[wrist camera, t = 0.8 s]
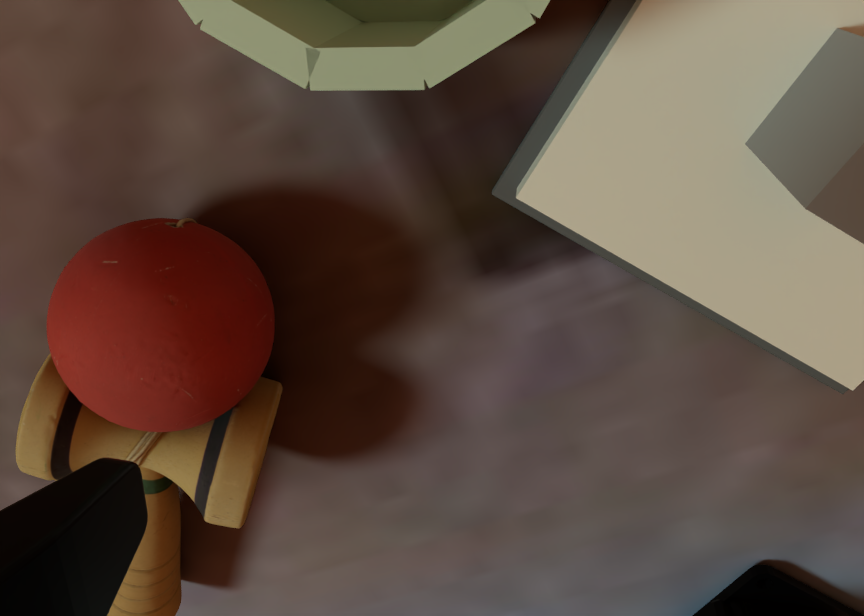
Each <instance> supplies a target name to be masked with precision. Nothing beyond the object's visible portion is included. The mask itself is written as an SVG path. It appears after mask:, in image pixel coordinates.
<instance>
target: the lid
mask: <svg viewBox="0 0 864 616" xmlns="http://www.w3.org/2000/svg"><path fill="white" fill-rule="evenodd" d="M516 198H517V199H518V200H520V201H522V202H524V203H525V204H527V205H529V206H531V207H532V208H534V209H536V210H538V211H539V212H541V213H543V214H545V215H546V216H548V217H550V218H552V219H553V220H555V221H557V222H559V223H560V224H562V225H564V226H566V227H567V228H569V229H571V230H573V231H574V232H576V233H578V234H580V235H581V236H583V237H585V238H587V239H588V240H590V241H592V242H594V243H595V244H597V245H599V246H601V247H602V248H604V249H606V250H608V251H609V252H611V253H613V254H615V255H616V256H618V257H620V258H622V259H623V260H625V261H627V262H629V263H630V264H632V265H634V266H636V267H637V268H639V269H641V270H643V271H644V272H646V273H648V274H650V275H651V276H653V277H655V278H657V279H658V280H660V281H662V282H664V283H665V284H667V285H669V286H671V287H672V288H674V289H676V290H678V291H679V292H681V293H683V294H685V295H686V296H688V297H690V298H692V299H693V300H695V301H697V302H699V303H700V304H702V305H704V306H706V307H707V308H709V309H711V310H712V311H714V312H716V313H718V314H719V315H721V316H723V317H725V318H726V319H728V320H730V321H732V322H733V323H735V324H737V325H739V326H740V327H742V328H744V329H746V330H747V331H749V332H751V333H753V334H754V335H756V336H758V337H760V338H761V339H763V340H765V341H767V342H768V343H770V344H772V345H774V346H775V347H777V348H779V349H781V350H782V351H784V352H786V353H788V354H789V355H791V356H793V357H795V358H796V359H798V360H800V361H802V362H803V363H805V364H807V365H809V366H810V367H812V368H814V369H816V370H817V371H819V372H821V373H823V374H824V375H826V376H828V377H830V378H831V379H833V380H835V381H837V382H838V383H840V384H842V385H844V386H845V387H847V388H849V389H851V390H852V391H853V390H854V389H855V388H856V387H857V386H858V385H859V384H860V383H861V382H863V381H864V0H636V2H635V3H634V5H633V6H632V8H631V10H630V11H629V13H628V14H627V16H626V17H625V19H624V21H623V22H622V24H621V25H620V27H619V28H618V30H617V32H616V33H615V35H614V36H613V38H612V39H611V41H610V43H609V44H608V46H607V47H606V49H605V50H604V52H603V54H602V55H601V57H600V58H599V60H598V61H597V63H596V65H595V66H594V68H593V69H592V71H591V72H590V74H589V76H588V77H587V79H586V80H585V82H584V84H583V85H582V87H581V88H580V90H579V91H578V93H577V95H576V96H575V98H574V99H573V101H572V102H571V104H570V106H569V107H568V109H567V110H566V112H565V113H564V115H563V117H562V118H561V120H560V121H559V123H558V124H557V126H556V128H555V129H554V131H553V132H552V134H551V135H550V137H549V139H548V140H547V142H546V143H545V145H544V146H543V148H542V150H541V151H540V153H539V154H538V156H537V157H536V159H535V161H534V162H533V164H532V165H531V167H530V168H529V170H528V172H527V173H526V175H525V176H524V178H523V179H522V181H521V183H520V184H519V186H518V187H517V192H516Z"/></svg>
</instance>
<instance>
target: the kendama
mask: <svg viewBox="0 0 864 616" xmlns="http://www.w3.org/2000/svg"><path fill="white" fill-rule="evenodd" d="M274 333H275V314H274V306H273V302H272V297H271V294H270V291H269V288H268V285H267V283H266V280H265V278H264V276H263V274H262V273H261V271H260V269H259V268H258V266H257V265H256V263H255V262H254V261H253V259H252V258H251V257H250V256H249V255H248V254H247V253H246V252H245V251H244V250H243V249H242V248H241V247H240V246H239V245H237V244H236V243H235V242H234V241H232V240H231V239H229V238H228V237H226V236H224V235H223V234H221V233H219V232H217V231H215V230H213V229H211V228H209V227H206V226H203V225H200V224H197V222H196V221H195V220H194V219H191V218H185V219H182V220H178V219H166V218H156V219H146V220H140V221H134V222H130V223H127V224H124V225H121V226H118V227H115V228H113V229H110V230H108V231H106V232H104V233H102V234H100V235H99V236H97V237H95V238H94V239H92V240H91V241H90V242H88V243H87V244H86V245H85V246H84V247H83V248H82V249H80V250H79V251H78V252H77V253H76V255H75V256H74V257H73V258H72V259H71V260H70V261H69V263H68V264H67V266H65V267H64V270H63V271H62V273H61V275H60V277H59V279H58V281H57V283H56V285H55V288H54V290H53V293H52V296H51V300H50V303H49V308H48V315H47V338H48V344H49V349H50V352H51V353H50V355H49V356H48V357H47V359H46V360H45V362H44V364H43V365H42V367H41V369H40V370H39V372H38V374H37V376H36V378H35V380H34V383H33V384H32V386H31V390H30V392H29V395H28V397H27V400H26V402H25V405H24V407H23V410H22V414H21V419H20V423H19V428H18V433H17V443H16V461H17V464H18V467H19V469H20V470H21V471H23V472H25V473H27V474H30V475H33V476H36V477H39V478H42V479H46V480H56V481H57V480H59V479H61V478H63V477H64V476H66V475H68V474H70V473H72V472H74V471H76V470H78V469H80V468H81V467H83V466H85V465H87V464H89V463H91V462H93V461H95V460H97V459H99V458H105V457H109V458H115V459H121V460H127V461H133V462H134V463H136V464H137V465H138V466H139V467H140V470H141V473H142V480H143V486H144V492H145V498H146V505H147V511H148V522H147V527H146V530H145V533H144V536H143V538H142V540H141V543H140V545H139V547H138V549H137V551H136V554H135V556H134V558H133V560H132V562H131V565H130V567H129V569H128V571H127V573H126V576H125V578H124V580H123V582H122V584H121V586H120V589H119V591H118V593H117V595H116V597H115V600H114V602H113V604H112V606H111V608H110V611H109V613H108V615H107V616H175V615H176V613H177V611H178V609H179V606H180V603H181V578H180V546H181V545H180V536H181V511H180V499H179V491H178V486H179V487H181V488H182V489H183V490H184V491H185V492H186V493H187V494H188V495H189V496H190V498H191V499H192V500H193V501H194V503H195V504H196V505H197V508H198V510H199V511H200V512H201V514H202V516H203V518H204V520H205V521H206V522H208V523H211V524H215V525H221V526H226V527H231V528H241V527H242V526H243V525H244V524H245V521H246V518H247V515H248V512H249V508H250V505H251V502H252V498H253V495H254V492H255V488H256V484H257V481H258V477H259V474H260V470H261V467H262V463H263V459H264V455H265V453H266V448H267V444H268V440H269V436H270V433H271V429H272V425H273V422H274V419H275V416H276V412H277V409H278V405H279V401H280V398H281V394H282V389H283V388H282V385H281V383H280V382H277V381H274V380H271V379H267V378H264V377H261V375H262V373H263V371H264V369H265V367H266V365H267V362H268V360H269V357H270V355H271V351H272V346H273V342H274Z"/></svg>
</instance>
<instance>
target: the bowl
mask: <svg viewBox="0 0 864 616" xmlns="http://www.w3.org/2000/svg"><path fill="white" fill-rule="evenodd" d="M178 1H179V2H180V3H181V5H182V6H183V8H184V9H185V11H186V12H187V13H188V15H189V16H190V18H191V19H192V21H193V22H194V24H195V25H197V24H201V23H202V24H201V27H200V29H201V30H202V31H204V32H206V33H208V34H209V35H211V36H213V37H215V38H216V39H218V40H220V41H222V42H223V43H225V44H227V45H229V46H230V47H232V48H234V49H236V50H237V51H239V52H241V53H243V54H245V55H246V56H248V57H250V58H252V59H253V60H255V61H257V62H259V63H260V64H262V65H264V66H266V67H267V68H269V69H271V70H273V71H274V72H276V73H278V74H280V75H281V76H283V77H285V78H287V79H288V80H290V81H292V82H294V83H295V84H297V85H299V86H301V87H302V88H304V89H306V88H307V87H309V86H310V90H425V88H426V87H427V86H429V88H431V87H433V86H434V85H436V84H438V83H439V82H441V81H442V80H444V79H446V78H447V77H449V76H451V75H452V74H454V73H455V72H457V71H459V70H460V69H462V68H463V67H465V66H467V65H468V64H470V63H472V62H473V61H475V60H476V59H478V58H480V57H481V56H483V55H485V54H486V53H488V52H489V51H491V50H493V49H494V48H496V47H497V46H499V45H501V44H502V43H504V42H506V41H507V40H509V39H510V38H512V37H514V36H515V35H517V34H519V33H520V32H522V31H523V30H525V29H527V28H528V27H530V26H532V25H533V24H535V21H536V17H538V18H540V17H541V15H542V14H543V12H544V10H545V8H546V7H547V5H548V3H549V2H550V0H178Z"/></svg>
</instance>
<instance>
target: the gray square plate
mask: <svg viewBox="0 0 864 616" xmlns="http://www.w3.org/2000/svg"><path fill="white" fill-rule="evenodd" d="M635 2H636V0H609V2H608V3H607V5H606V7H605V8H604V10H603V11H602V13H601V15H600V16H599V18H598V19H597V21H596V23H595V24H594V26H593V28H592V29H591V31H590V32H589V34H588V36H587V37H586V39H585V41H584V42H583V44H582V45H581V47H580V49H579V50H578V52H577V54H576V55H575V57H574V58H573V60H572V62H571V63H570V65H569V67H568V68H567V70H566V71H565V73H564V75H563V76H562V78H561V79H560V81H559V83H558V84H557V86H556V88H555V89H554V91H553V92H552V94H551V96H550V97H549V99H548V101H547V102H546V104H545V105H544V107H543V109H542V110H541V112H540V114H539V115H538V117H537V118H536V120H535V122H534V123H533V125H532V126H531V128H530V130H529V131H528V133H527V135H526V136H525V138H524V139H523V141H522V143H521V144H520V146H519V148H518V149H517V151H516V152H515V154H514V156H513V157H512V159H511V161H510V162H509V164H508V165H507V167H506V169H505V170H504V172H503V174H502V175H501V177H500V178H499V180H498V182H497V183H496V185H495V186H494V188H493V190H492V195H494V196H496V197H497V198H499V199H501V200H503V201H504V202H506V203H508V204H510V205H511V206H513V207H515V208H517V209H518V210H520V211H522V212H524V213H526V214H527V215H529V216H531V217H533V218H534V219H536V220H538V221H540V222H541V223H543V224H545V225H547V226H548V227H550V228H552V229H554V230H555V231H557V232H559V233H561V234H562V235H564V236H566V237H568V238H569V239H571V240H573V241H575V242H576V243H578V244H580V245H582V246H583V247H585V248H587V249H589V250H590V251H592V252H594V253H596V254H597V255H599V256H601V257H603V258H604V259H606V260H608V261H610V262H611V263H613V264H615V265H617V266H618V267H620V268H622V269H624V270H625V271H627V272H629V273H631V274H633V275H634V276H636V277H638V278H640V279H641V280H643V281H645V282H647V283H648V284H650V285H652V286H654V287H655V288H657V289H659V290H661V291H662V292H664V293H666V294H668V295H669V296H671V297H673V298H675V299H676V300H678V301H680V302H682V303H683V304H685V305H687V306H689V307H690V308H692V309H694V310H696V311H697V312H699V313H701V314H703V315H704V316H706V317H708V318H710V319H711V320H713V321H715V322H717V323H718V324H720V325H722V326H724V327H725V328H727V329H729V330H731V331H733V332H734V333H736V334H738V335H740V336H741V337H743V338H745V339H747V340H748V341H750V342H752V343H754V344H755V345H757V346H759V347H761V348H762V349H764V350H766V351H768V352H769V353H771V354H773V355H775V356H776V357H778V358H780V359H782V360H783V361H785V362H787V363H789V364H790V365H792V366H794V367H796V368H797V369H799V370H801V371H803V372H804V373H806V374H808V375H810V376H811V377H813V378H815V379H817V380H818V381H820V382H822V383H824V384H825V385H827V386H829V387H831V388H832V389H834V390H836V391H838V392H840V393H841V394H844V393H845V392H846V391H847V390H848V389H849V388H847V387H845V386H844V385H842V384H840V383H838V382H837V381H835V380H833V379H831V378H830V377H828V376H826V375H824V374H823V373H821V372H819V371H817V370H816V369H814V368H812V367H810V366H809V365H807V364H805V363H803V362H802V361H800V360H798V359H796V358H795V357H793V356H791V355H789V354H788V353H786V352H784V351H782V350H781V349H779V348H777V347H775V346H774V345H772V344H770V343H768V342H767V341H765V340H763V339H761V338H760V337H758V336H756V335H754V334H753V333H751V332H749V331H747V330H746V329H744V328H742V327H740V326H739V325H737V324H735V323H733V322H732V321H730V320H728V319H726V318H725V317H723V316H721V315H719V314H718V313H716V312H714V311H712V310H711V309H709V308H707V307H706V306H704V305H702V304H700V303H699V302H697V301H695V300H693V299H692V298H690V297H688V296H686V295H685V294H683V293H681V292H679V291H678V290H676V289H674V288H672V287H671V286H669V285H667V284H665V283H664V282H662V281H660V280H658V279H657V278H655V277H653V276H651V275H650V274H648V273H646V272H644V271H643V270H641V269H639V268H637V267H636V266H634V265H632V264H630V263H629V262H627V261H625V260H623V259H622V258H620V257H618V256H616V255H615V254H613V253H611V252H609V251H608V250H606V249H604V248H602V247H601V246H599V245H597V244H595V243H594V242H592V241H590V240H588V239H587V238H585V237H583V236H581V235H580V234H578V233H576V232H574V231H573V230H571V229H569V228H567V227H566V226H564V225H562V224H560V223H559V222H557V221H555V220H553V219H552V218H550V217H548V216H546V215H545V214H543V213H541V212H539V211H538V210H536V209H534V208H532V207H531V206H529V205H527V204H525V203H524V202H522V201H520V200H518V199H517V198H516V192H517V187H518V186H519V184H520V183H521V181H522V179H523V178H524V176H525V175H526V173H527V172H528V170H529V168H530V167H531V165H532V164H533V162H534V161H535V159H536V157H537V156H538V154H539V153H540V151H541V150H542V148H543V146H544V145H545V143H546V142H547V140H548V139H549V137H550V135H551V134H552V132H553V131H554V129H555V128H556V126H557V124H558V123H559V121H560V120H561V118H562V117H563V115H564V113H565V112H566V110H567V109H568V107H569V106H570V104H571V102H572V101H573V99H574V98H575V96H576V95H577V93H578V91H579V90H580V88H581V87H582V85H583V84H584V82H585V80H586V79H587V77H588V76H589V74H590V72H591V71H592V69H593V68H594V66H595V65H596V63H597V61H598V60H599V58H600V57H601V55H602V54H603V52H604V50H605V49H606V47H607V46H608V44H609V43H610V41H611V39H612V38H613V36H614V35H615V33H616V32H617V30H618V28H619V27H620V25H621V24H622V22H623V21H624V19H625V17H626V16H627V14H628V13H629V11H630V10H631V8H632V6H633V5H634V3H635Z"/></svg>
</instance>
